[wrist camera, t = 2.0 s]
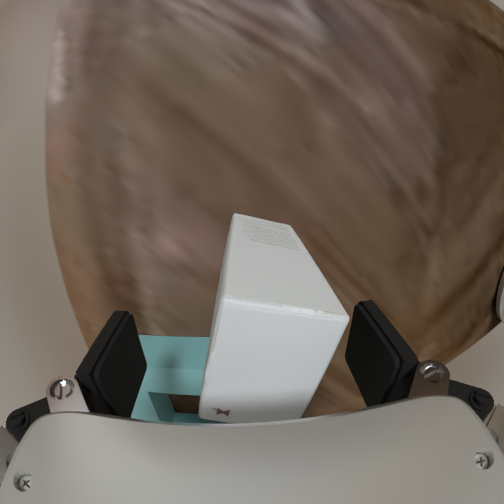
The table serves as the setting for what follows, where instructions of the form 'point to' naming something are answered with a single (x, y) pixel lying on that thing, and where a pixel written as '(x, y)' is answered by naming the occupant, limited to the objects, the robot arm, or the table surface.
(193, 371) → the hollow square block
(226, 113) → the table surface
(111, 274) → the table surface
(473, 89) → the table surface
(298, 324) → the skincare box
